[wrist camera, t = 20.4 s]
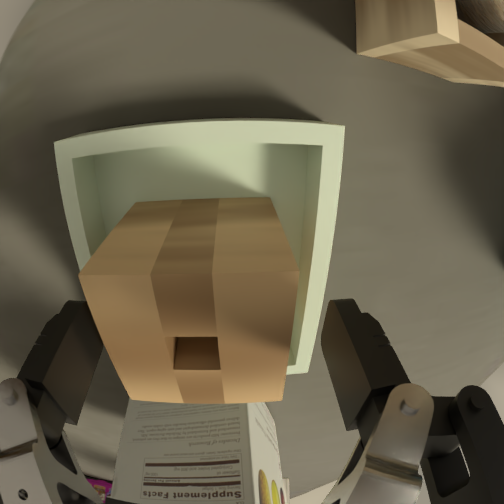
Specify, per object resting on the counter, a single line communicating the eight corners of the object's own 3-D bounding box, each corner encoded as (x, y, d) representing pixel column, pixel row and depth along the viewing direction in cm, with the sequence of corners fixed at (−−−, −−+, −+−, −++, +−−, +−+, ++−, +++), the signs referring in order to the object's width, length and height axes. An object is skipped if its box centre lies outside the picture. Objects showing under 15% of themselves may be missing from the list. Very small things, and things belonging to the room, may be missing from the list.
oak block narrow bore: (135, 202, 12) (78, 274, 7) (269, 197, 13) (299, 270, 7) (155, 308, 15) (131, 399, 10) (265, 306, 15) (281, 400, 10)
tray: (82, 133, 11) (53, 142, 9) (323, 121, 12) (344, 126, 9) (129, 343, 17) (120, 373, 15) (299, 341, 18) (307, 372, 16)
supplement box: (276, 420, 23) (301, 588, 8) (183, 434, 24) (180, 587, 9) (244, 360, 18) (268, 615, 4) (129, 379, 19) (98, 586, 4)
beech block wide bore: (351, -45, 7) (410, -96, 2) (446, -8, 8) (520, -24, 2) (356, 53, 10) (437, 32, 5) (452, 82, 10) (537, 93, 5)
